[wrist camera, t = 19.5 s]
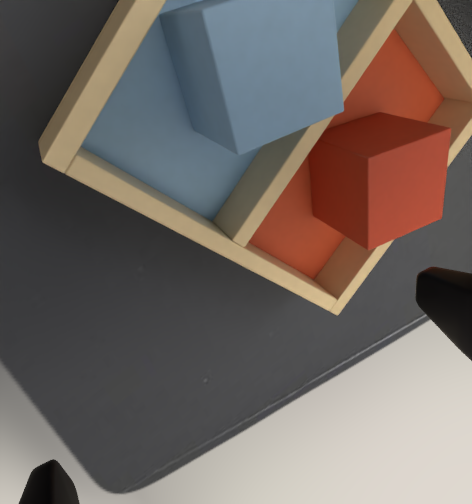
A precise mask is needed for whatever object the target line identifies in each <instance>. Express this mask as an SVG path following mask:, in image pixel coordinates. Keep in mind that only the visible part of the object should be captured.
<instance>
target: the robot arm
mask: <svg viewBox="0 0 472 504" xmlns="http://www.w3.org/2000/svg"><path fill="white" fill-rule="evenodd" d="M416 302H417V304H418V305H419V307H420V308H421V309H422V310H423V311H424V312H425V314H426V315H427V316H428V317H429V318H430V319H431V320H432V321H433V322H434V323H435V324H436V325H437V326H438V327H439V328H440V329H441V331H442V332H443V333H444V334H445V335H446V336H447V337H448V338H449V339H450V340H451V341H452V342H453V343H454V344H455V345H456V346H457V347H458V348H459V349H460V350H461V351H462V352H463V353H464V354H465V355H466V356H467V357H468V358H469V359H470V360H471V361H472V274H471V273H465V272H460V271H454V270H449V269H443V268H438V267H430V268H428V269H426V270H424V271H422V272H420V273H419V274H418V275H417V279H416ZM19 504H79V500H78V496H77V492H76V488H75V486H74V483H73V481H72V480H71V478H70V477H69V476H68V475H67V473H66V472H65V471H64V469H63V468H62V467H61V465H60V464H59V463H58V462H57V461H56V460H50V461H48V462H46V463H44V464H42V465H40V466H38V467H36V468H35V469H34V470H33V471H32V472H31V474H30V477H29V479H28V482H27V484H26V487H25V489H24V492H23V494H22V497H21V499H20V502H19Z"/></svg>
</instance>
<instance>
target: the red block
mask: <svg viewBox="0 0 472 504" xmlns="http://www.w3.org/2000/svg"><path fill="white" fill-rule="evenodd" d="M450 136H451V128H449V127H445V126H440V125H436V124H431V123H427V122H422V121H418V120H413V119H409V118H405V117H400V116H396V115H391V114H387V113H382V112H378V113H375V114H372V115H369V116H366V117H362V118H359V119H356V120H353V121H350V122H347V123H344V124H341V125H338V126H335V127H332V128H329V129H326V130H324V132H323V133H322V135H321V136H320V137H319V139H318V140H317V142H316V143H315V145H314V146H313V148H312V149H311V151H310V152H309V154H308V156H309V169H310V182H311V194H312V207H313V216H314V217H315V218H317V219H319V220H320V221H322V222H323V223H325V224H327V225H328V226H330V227H331V228H333V229H335V230H336V231H338V232H339V233H341V234H343V235H344V236H346V237H347V238H349V239H351V240H352V241H354V242H355V243H357V244H359V245H360V246H362V247H363V248H365V249H367V250H371V249H374V248H376V247H378V246H380V245H383V244H385V243H387V242H389V241H392V240H394V239H396V238H398V237H401V236H403V235H405V234H407V233H410V232H412V231H414V230H416V229H419V228H421V227H423V226H426V225H428V224H430V223H432V222H435V221H437V220H439V219H441V218H442V212H443V203H444V193H445V184H446V174H447V165H448V155H449V146H450Z"/></svg>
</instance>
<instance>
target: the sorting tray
mask: <svg viewBox="0 0 472 504" xmlns="http://www.w3.org/2000/svg"><path fill="white" fill-rule="evenodd" d="M199 1H202V0H119V1H118V3H117V4H116V6H115V8H114V10H113V11H112V13H111V15H110V17H109V18H108V20H107V22H106V24H105V25H104V27H103V29H102V31H101V32H100V34H99V36H98V38H97V39H96V41H95V43H94V45H93V46H92V48H91V50H90V52H89V53H88V55H87V57H86V59H85V60H84V62H83V64H82V66H81V67H80V69H79V71H78V73H77V74H76V76H75V78H74V80H73V81H72V83H71V85H70V87H69V88H68V90H67V92H66V94H65V95H64V97H63V99H62V101H61V102H60V104H59V106H58V108H57V109H56V111H55V113H54V115H53V116H52V118H51V120H50V122H49V123H48V125H47V127H46V129H45V130H44V132H43V134H42V136H41V137H40V139H39V141H38V144H39V149H40V154H41V159H42V162H43V163H44V164H46V165H48V166H50V167H52V168H54V169H56V170H58V171H60V172H62V173H65V174H66V175H68V176H70V177H71V178H73V179H75V180H77V181H79V182H81V183H83V184H85V185H87V186H89V187H91V188H93V189H95V190H97V191H98V192H100V193H102V194H104V195H106V196H108V197H110V198H112V199H114V200H116V201H118V202H120V203H122V204H124V205H126V206H127V207H129V208H131V209H133V210H135V211H137V212H139V213H141V214H143V215H145V216H147V217H149V218H151V219H153V220H154V221H156V222H158V223H160V224H162V225H164V226H166V227H168V228H170V229H172V230H174V231H176V232H178V233H180V234H181V235H183V236H185V237H187V238H189V239H191V240H193V241H195V242H197V243H199V244H201V245H203V246H205V247H207V248H208V249H210V250H212V251H214V252H216V253H218V254H220V255H222V256H224V257H226V258H228V259H230V260H232V261H234V262H235V263H237V264H239V265H241V266H243V267H245V268H247V269H249V270H251V271H253V272H255V273H257V274H259V275H261V276H262V277H264V278H266V279H268V280H270V281H272V282H274V283H276V284H278V285H280V286H282V287H284V288H286V289H288V290H289V291H291V292H293V293H295V294H297V295H299V296H301V297H303V298H305V299H307V300H309V301H311V302H313V303H315V304H316V305H318V306H320V307H322V308H324V309H326V310H328V311H330V312H332V313H334V314H336V315H338V314H339V313H340V312H341V310H342V309H343V308H344V306H345V305H346V304H347V302H348V301H349V300H350V298H351V297H352V296H353V294H354V293H355V292H356V290H357V289H358V287H359V286H360V285H361V283H362V282H363V281H364V279H365V278H366V277H367V275H368V274H369V273H370V271H371V270H372V269H373V267H374V266H375V265H376V263H377V262H378V260H379V259H380V258H381V256H382V255H383V254H384V252H385V251H386V250H387V248H388V247H389V246H390V244H391V243H392V242H393V240H392V241H389V242H387V243H385V244H383V245H380V246H378V247H376V248H374V249H371V250H367V249H365V248H363V247H362V246H360V245H359V244H357V243H355V242H354V241H352V240H351V239H349V238H347V237H346V236H344V235H343V234H341V233H339V232H338V231H336V230H335V229H333V228H331V227H330V226H328V225H327V224H325V223H323V222H322V221H320V220H319V219H317V218H315V217H314V216H313V207H312V194H311V182H310V169H309V156H308V154H309V152H310V151H311V149H312V148H313V146H314V145H315V143H316V142H317V140H318V139H319V137H320V136H321V135H322V133H323V132H324V130H326V129H329V128H332V127H335V126H338V125H341V124H344V123H347V122H350V121H353V120H356V119H359V118H362V117H366V116H369V115H372V114H375V113H378V112H382V113H387V114H391V115H396V116H400V117H405V118H409V119H413V120H418V121H422V122H427V123H431V124H436V125H440V126H445V127H449V128H451V136H450V146H449V155H448V165H447V167H448V166H449V165H450V163H451V162H452V161H453V159H454V158H455V157H456V155H457V154H458V152H459V151H460V150H461V148H462V147H463V146H464V144H465V143H466V142H467V140H468V139H469V138H470V136H471V135H472V58H471V57H470V55H469V53H468V52H467V50H466V48H465V47H464V45H463V43H462V42H461V40H460V38H459V37H458V35H457V33H456V32H455V30H454V28H453V27H452V25H451V23H450V22H449V20H448V18H447V17H446V15H445V13H444V12H443V10H442V8H441V7H440V5H439V3H438V1H437V0H334V11H335V21H336V31H337V41H338V52H339V62H340V72H341V82H342V93H343V103H344V111H343V112H341V113H339V114H336V115H334V116H331V117H329V118H327V119H324V120H322V121H320V122H317V123H315V124H312V125H310V126H308V127H305V128H303V129H301V130H298V131H296V132H293V133H291V134H289V135H286V136H284V137H281V138H279V139H277V140H274V141H272V142H270V143H267V144H265V145H262V146H260V147H258V148H255V149H253V150H251V151H248V152H246V153H243V154H241V155H237V154H235V153H233V152H231V151H229V150H228V149H226V148H224V147H222V146H221V145H219V144H217V143H215V142H214V141H212V140H210V139H208V138H206V137H205V136H203V135H201V134H199V133H198V132H196V131H194V129H193V126H192V123H191V119H190V116H189V113H188V109H187V106H186V103H185V100H184V96H183V93H182V90H181V86H180V83H179V80H178V77H177V73H176V70H175V67H174V64H173V60H172V57H171V54H170V50H169V47H168V44H167V41H166V37H165V34H164V31H163V27H162V24H161V21H160V18H159V15H160V14H161V13H164V12H167V11H170V10H173V9H177V8H180V7H183V6H186V5H189V4H193V3H196V2H199Z"/></svg>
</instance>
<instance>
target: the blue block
mask: <svg viewBox="0 0 472 504" xmlns="http://www.w3.org/2000/svg"><path fill="white" fill-rule="evenodd" d="M159 18H160V21H161V24H162V27H163V31H164V34H165V37H166V41H167V44H168V47H169V50H170V54H171V57H172V60H173V64H174V67H175V70H176V73H177V77H178V80H179V83H180V86H181V90H182V93H183V96H184V100H185V103H186V106H187V109H188V113H189V116H190V119H191V123H192V126H193V129H194V131H196V132H198V133H199V134H201V135H203V136H205V137H206V138H208V139H210V140H212V141H214V142H215V143H217V144H219V145H221V146H222V147H224V148H226V149H228V150H229V151H231V152H233V153H235V154H237V155H241V154H243V153H246V152H248V151H251V150H253V149H255V148H258V147H260V146H262V145H265V144H267V143H270V142H272V141H274V140H277V139H279V138H281V137H284V136H286V135H289V134H291V133H293V132H296V131H298V130H301V129H303V128H305V127H308V126H310V125H312V124H315V123H317V122H320V121H322V120H324V119H327V118H329V117H331V116H334V115H336V114H339V113H341V112H343V111H344V103H343V93H342V82H341V72H340V62H339V52H338V41H337V31H336V21H335V11H334V0H202V1H199V2H196V3H193V4H189V5H186V6H183V7H180V8H177V9H173V10H170V11H167V12H164V13H161V14H160V15H159Z"/></svg>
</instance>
